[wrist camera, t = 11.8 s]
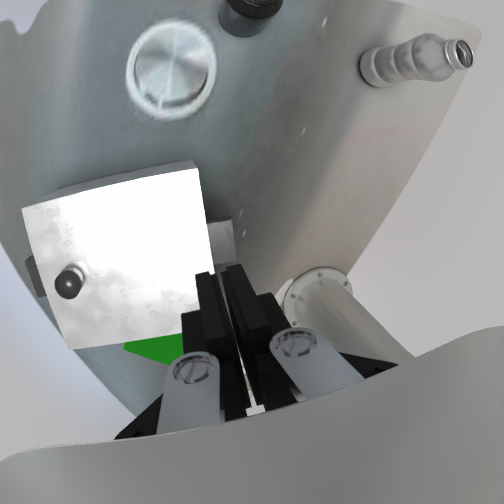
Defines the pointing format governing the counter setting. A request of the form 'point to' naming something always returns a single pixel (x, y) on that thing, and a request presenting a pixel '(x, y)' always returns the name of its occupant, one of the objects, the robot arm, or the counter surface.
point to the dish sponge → (158, 348)
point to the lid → (122, 257)
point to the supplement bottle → (247, 15)
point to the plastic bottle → (416, 60)
